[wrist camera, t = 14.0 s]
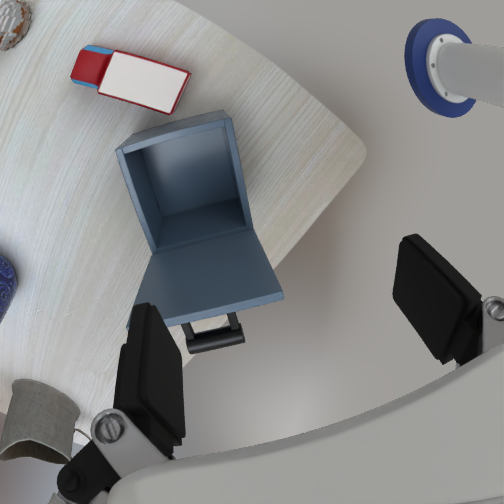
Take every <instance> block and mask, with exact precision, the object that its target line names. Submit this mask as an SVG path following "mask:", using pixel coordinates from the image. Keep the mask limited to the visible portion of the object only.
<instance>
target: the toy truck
mask: <svg viewBox="0 0 504 504" xmlns="http://www.w3.org/2000/svg"><path fill="white" fill-rule="evenodd" d="M70 77H71V79H72V81H73V83H76V84H80V85H84V86H88V87H92V88H96V89H98V90H97V92H98V94H101V95H105V96H108V97H112V98H115V99H119V100H122V101H126V102H129V103H132V104H135V105H139V106H142V107H145V108H148V109H151V110H154V111H157V112H160V113H163V114H166V115H171V114H173V112H175V110H176V108H177V106H178V103H179V101H180V99H181V97H182V94H183V92H184V90H185V88H186V85H187V83H188V81H189V79H190V77H191V73H189V72H188V71H186V70H183V69H180V68H177V67H174V66H171V65H168V64H165V63H162V62H158V61H155V60H152V59H148V58H145V57H142V56H138V55H134V54H131V53H127V52H123V51H119V50H110V49H106V48H102V47H97V46H93V45H87V46H86V47H84V48H83V49H82V50H81V51H80V52H79V55H78V57H77V60H76V62H75V65H74V68H73V70H72V73H71V76H70Z"/></svg>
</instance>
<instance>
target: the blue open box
mask: <svg viewBox="0 0 504 504" xmlns="http://www.w3.org/2000/svg"><path fill="white" fill-rule="evenodd" d="M115 151H116V154H117V158H118V161H119V164H120V167H121V170H122V173H123V176H124V179H125V182H126V185H127V188H128V190H129V193H130V196H131V199H132V202H133V204H134V207H135V210H136V213H137V215H138V218H139V221H140V223H141V226H142V229H143V231H144V234H145V236H146V239H147V241H148V244H149V246H150V249H151V251H152V254H157V253H161V252H165V251H169V250H173V249H177V248H181V247H184V246H188V245H192V244H196V243H200V242H204V241H208V240H212V239H216V238H220V237H224V236H228V235H233V234H237V233H241V232H245V231H249V230H253V229H254V228H253V223H252V218H251V213H250V208H249V203H248V198H247V193H246V188H245V183H244V178H243V173H242V168H241V163H240V158H239V153H238V148H237V143H236V138H235V133H234V128H233V124H232V119H231V117H230V116H229V115H228V114H227V113H226V112H225V111H224V110H219V111H214V112H210V113H206V114H201V115H197V116H193V117H189V118H186V119H182V120H178V121H174V122H171V123H167V124H164V125H160V126H157V127H154V128H150V129H147V130H144V131H141V132H138V133H135V134H132V135H131V136H130V137H129V138H128V139H127V140H126V141H125V142H123V143H122V144H121V145H120V146H119V147H118V148H117V149H116V150H115Z"/></svg>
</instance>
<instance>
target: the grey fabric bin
mask: <svg viewBox="0 0 504 504" xmlns="http://www.w3.org/2000/svg"><path fill="white" fill-rule="evenodd" d="M12 392H13V395H12V398H11V401H10V405H9V409H8V412H7V416H6V420H5V424H4V428H3V433H2V437H1V442H0V460H2V461H6V460H11V459H15V458H19V457H32V458H36V459H39V460H42V461H46V462H49V463H54V464H62V465H66V464H67V463H68V462H69V461H70V460H71V459H72V457H71V451H72V442H73V434H74V433H75V431H79V432H81V433H82V434H83V435H85V436H86V437H87V438H88V439H89V440H90V441H91V440H92V439H91V438H90V437H89V436H88V435H86V434H85V433H84V432H83V431H81V430H79V429H74V427H75V421H76V420H77V419H78V417H79V415H80V411H79V408H78V407H77V405H76V404H75V403H74V402H73V401H72V400H71V399H69V398H68V397H67V396H66V395H64V394H62V393H61V392H59V391H57V390H56V389H54V388H52V387H49V386H47V385H45V384H42V383H39V382H36V381H32V380H25V379H20V380H16V381H14V383H13V384H12Z"/></svg>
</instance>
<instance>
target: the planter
mask: <svg viewBox="0 0 504 504" xmlns="http://www.w3.org/2000/svg"><path fill="white" fill-rule="evenodd" d="M16 290H17V278H16V274H15V271H14V268H13V267H12V265H11V264H10V262H9V261H8V260H7V259H6V258H5V257H3V256H2V255H0V324H1V322H2V320H3V318H4V316H5V315H6V313H7V311H8V309H9V307H10V305H11V303H12V301H13V298H14V296H15V293H16Z"/></svg>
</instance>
